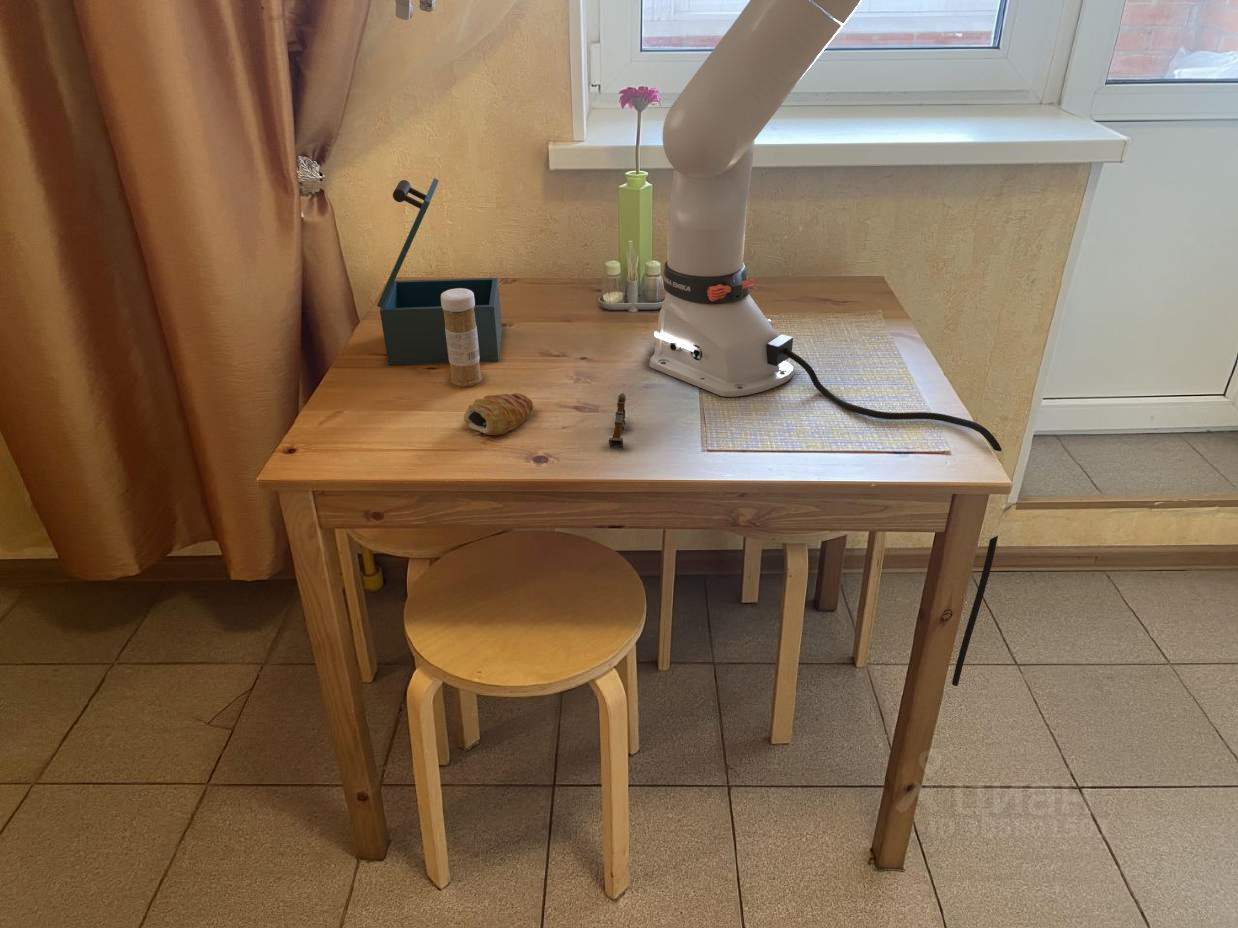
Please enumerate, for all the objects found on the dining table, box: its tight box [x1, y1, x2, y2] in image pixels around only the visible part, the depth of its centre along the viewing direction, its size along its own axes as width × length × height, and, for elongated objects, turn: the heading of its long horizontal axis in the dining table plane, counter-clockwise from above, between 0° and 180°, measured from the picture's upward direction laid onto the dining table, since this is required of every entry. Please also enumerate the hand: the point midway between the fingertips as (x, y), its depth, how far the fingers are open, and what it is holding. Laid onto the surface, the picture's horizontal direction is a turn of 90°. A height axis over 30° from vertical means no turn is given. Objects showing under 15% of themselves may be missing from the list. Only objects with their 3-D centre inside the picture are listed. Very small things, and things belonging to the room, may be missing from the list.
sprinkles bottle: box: [441, 288, 483, 387], centre depth 125 cm, size 5×5×13 cm
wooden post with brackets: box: [608, 392, 627, 450], centre depth 114 cm, size 2×8×4 cm, turn 173°
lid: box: [376, 177, 440, 309], centre depth 129 cm, size 17×13×5 cm
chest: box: [379, 277, 503, 366], centre depth 137 cm, size 17×13×9 cm
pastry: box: [463, 392, 534, 436], centre depth 117 cm, size 9×7×4 cm
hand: (415, 14), depth 119 cm, fingers open, 8 cm apart
